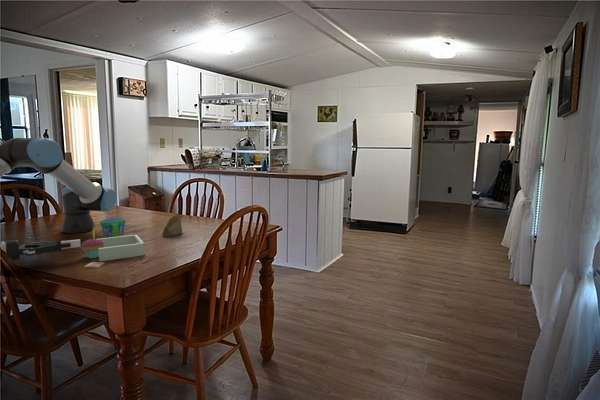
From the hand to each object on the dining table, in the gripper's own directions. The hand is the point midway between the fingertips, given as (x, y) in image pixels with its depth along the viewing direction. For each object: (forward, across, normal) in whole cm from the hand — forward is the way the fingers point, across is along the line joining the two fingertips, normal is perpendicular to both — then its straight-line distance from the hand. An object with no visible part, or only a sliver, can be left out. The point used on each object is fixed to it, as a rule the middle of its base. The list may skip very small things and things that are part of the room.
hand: (80, 243), depth 156 cm
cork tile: (+4, +12, -7) cm, 15 cm away
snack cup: (+15, -22, -7) cm, 27 cm away
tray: (+14, -1, -6) cm, 15 cm away
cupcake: (+4, -1, -7) cm, 8 cm away
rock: (+41, -23, -7) cm, 48 cm away
